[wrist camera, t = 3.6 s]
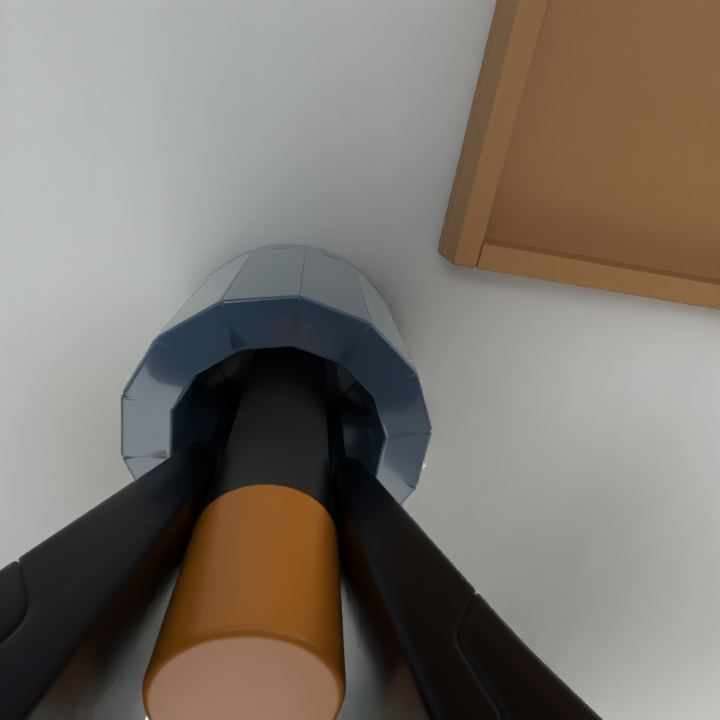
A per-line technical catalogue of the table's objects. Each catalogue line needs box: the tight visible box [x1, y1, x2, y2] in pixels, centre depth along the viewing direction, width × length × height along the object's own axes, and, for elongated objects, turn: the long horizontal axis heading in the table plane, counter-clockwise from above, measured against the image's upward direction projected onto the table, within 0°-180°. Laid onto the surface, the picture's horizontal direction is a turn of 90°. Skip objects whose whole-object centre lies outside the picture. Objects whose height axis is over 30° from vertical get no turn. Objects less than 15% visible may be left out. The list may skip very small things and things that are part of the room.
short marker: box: [142, 347, 346, 720], centre depth 9 cm, size 2×2×9 cm
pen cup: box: [121, 244, 432, 505], centre depth 11 cm, size 6×6×5 cm
